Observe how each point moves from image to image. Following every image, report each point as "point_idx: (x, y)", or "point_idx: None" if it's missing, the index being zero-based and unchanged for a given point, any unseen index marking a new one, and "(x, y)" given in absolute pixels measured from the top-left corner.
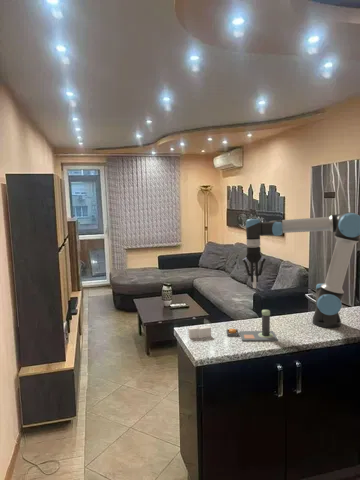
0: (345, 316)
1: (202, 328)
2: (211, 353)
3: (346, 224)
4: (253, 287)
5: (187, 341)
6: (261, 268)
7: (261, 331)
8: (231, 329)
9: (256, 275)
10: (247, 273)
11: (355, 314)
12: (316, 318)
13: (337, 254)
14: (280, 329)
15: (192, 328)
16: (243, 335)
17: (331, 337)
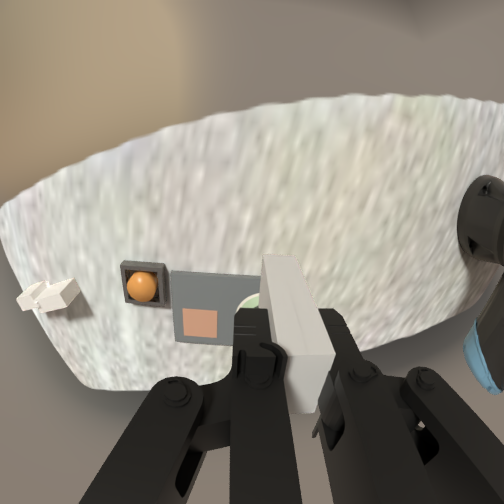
0: None
1: (47, 310)
2: (105, 379)
3: None
4: (259, 293)
5: (37, 313)
6: (443, 502)
7: (257, 283)
8: (136, 285)
9: (326, 429)
10: (149, 417)
11: None
12: (473, 233)
13: None
14: (341, 251)
15: (25, 304)
16: (181, 312)
17: (433, 317)
